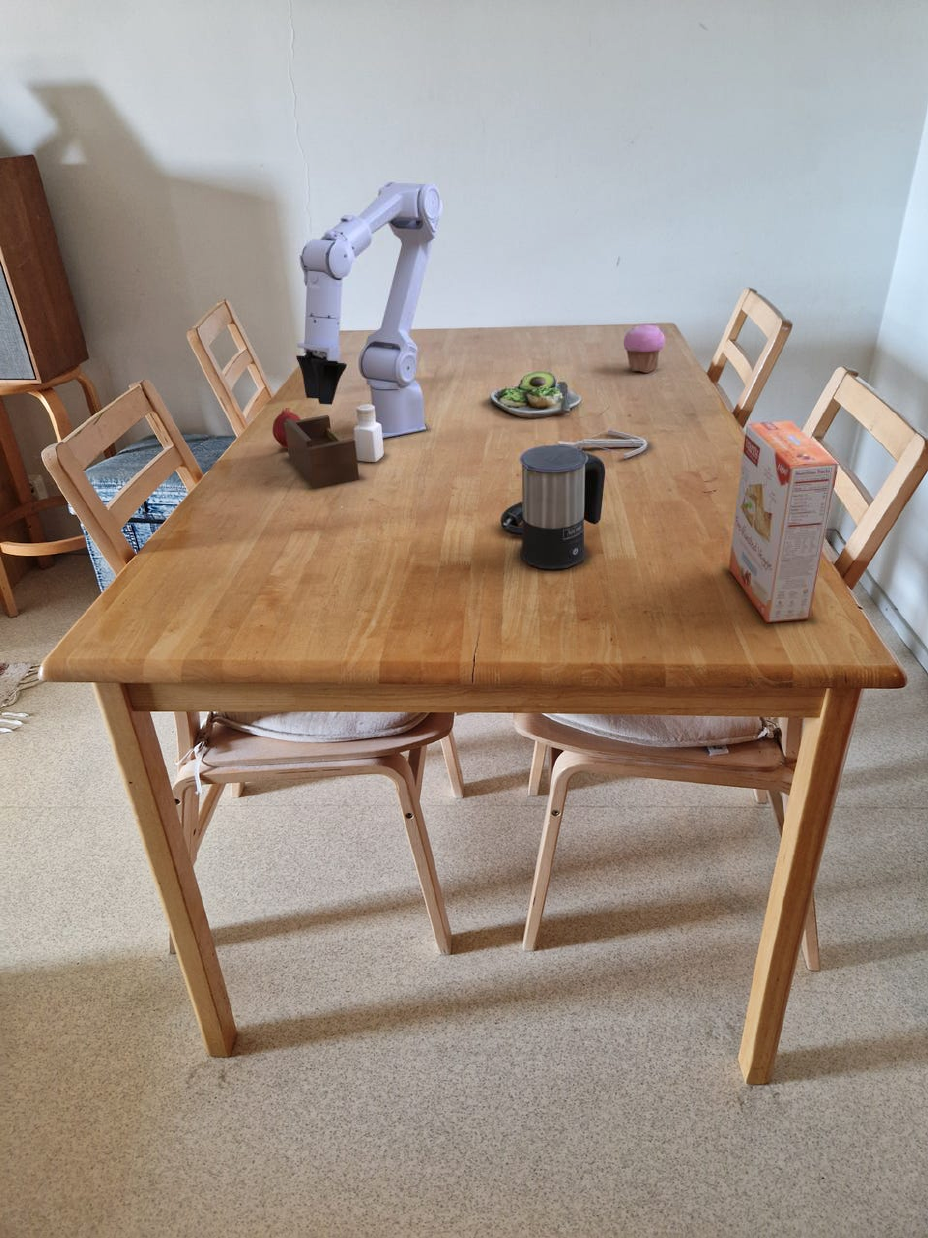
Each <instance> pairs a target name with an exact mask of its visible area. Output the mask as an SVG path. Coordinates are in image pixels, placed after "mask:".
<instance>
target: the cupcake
mask: <svg viewBox="0 0 928 1238" xmlns="http://www.w3.org/2000/svg"><path fill="white" fill-rule="evenodd" d="M664 334H665V333H664V332H663V331H662V330H660V328H659V326H657V325H652V324H643V325H636V326H634V327H633V328H631V329H629V330H628V331H627V332H626V334H625V336H624V338H623V347H624V348H623V349H624V350H625V351H626V354H627V359H628V365H629V367H630V369H631V370H632V371H633V372H640V373H643V374H646V373H647V374H648V373H650V372H652V371H654V370H656V368H657V367H658V363H659V355H660V351H661V350H662V349H663V348H664V347H665V346H666V336H665V335H664Z"/></svg>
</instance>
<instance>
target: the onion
mask: <svg viewBox="0 0 928 1238" xmlns="http://www.w3.org/2000/svg"><path fill="white" fill-rule="evenodd" d="M289 418H291V419H292V420H293V421H296V420H302V418H300V416H298V415H297V414H295V413H294V412H292V411H291V408H290V407H289V406H284V407H283V409H282V411H281V413H279V414H278V415H277V416H276V417H275V419H274V421H273V423H272V435H273V438H274V439H275V441H276V442H277V443H278V444H279V445H280V446H282V447H284V448H286V449H288V445H287V438H286V431H285V424H284V423H285V422H286V421H285V419H289Z"/></svg>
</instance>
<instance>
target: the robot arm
mask: <svg viewBox="0 0 928 1238" xmlns="http://www.w3.org/2000/svg"><path fill="white" fill-rule="evenodd" d="M443 207H444V206H443V202H442V199H441V194H440V191H439V189H438V187H437V185H435V184H434V183H433V182H426V183H411V182H409V183H408V182H407V183H406V182H395V181H388V182H386V183H385V184H384V185H383V186H382V187H380V188H379V189H378V193H377V197H376V198H375V199H374V200H373V201H372V202H371V203H370V204H369V205H368V206H367V207H366V208H365V209H364V210H363V211H362V212H361V213H360V214H359V215H354V214H351V215H350V214H344V215H342V216H340V222H338V224H337V225H335V226H334V227H332V228H331V229H330V230H329V229H328V230H326V231H325V232H324V235H323V236H322V237H320V239H316V238H315V239H314V238H313V239H310V240H309V241H308V242H307V243H306V244H305V245H304V246H303V249H302V251H301V254H300V255H299V264H300V267H301V269H302V272H303V283H304V286H305V287H306V295H305V296H306V297H305V318H304V319H305V320H304V341H303V342H297V344H296V347H297V348H299V349H303V354H304V355H296V356H295V358H296V360H297V363H298V365H299V368H300V372H301V375H302V380H303V385H304V392H305V397H306V398H307V399H317V401H318V404H319V405H333V403H334V399H335V397H336V392H337V388H338V385H339V382H340V380H341V377H342V375H343V374H344V372H345V370H346V369H347V366H348V364H347V363H345V362H340V361H341V346H340V333H341V331H340V329H341V311H342V293H343V279H344V278H345V277H348V275H349V274H350V273H351V269H352V265H353V263H354V262H355V259H356V258H358V256H360V254H362V253H363V252H364V251H365V250H367V248H369V247H370V245H371V244H372V241H373V236H372V235H373V234H375V233H376V232H377V231H379V230H380V229H382V228H383V227H384V226H385V225H387V224H388V226H389V227H390V229H391V231H392V233H393V235H394V236H395V237H396V238H398V239H399V240H400V242H401V247H400V250H399V254H398V258H397V262H396V266H395V269H394V270H395V271H394V274H393V278H392V282H391V287H390V290H389V294H388V298H387V302H386V306H385V311H384V314H383V318H382V322H381V326H380V327H379V328H378V329H377V330H375V331H374V332H372V333H371V334H369V335H368V336H367V338H366V343H365V345H364V347H363V348H362V349H361V352H360V353H359V357H358V370H359V374H360V375H361V377H362V378H363V379H364V380H365V381H366V385H368V386H369V389H370V399H371V400H370V401H371V405H373V406H375V414H376V417H375V420H376V422H377V423H379V424H381V428H382V439H387V438H391V437H396V436H401V435H407V434H411V433H417V432H421V431H425V430H427V427H426V426H425V410H424V409H425V408H424V395H423V392H422V387H421V385H420V383H419V382H418V381H417V380H416V379H415V377H416V374H417V370H418V368H417V367H418V365H417V363H418V362H417V359H418V353H419V348H418V347H417V344H416V343H415V342H414V341H413V339H412V338H411V336H410V333H411V329H412V325H413V320H414V317H415V313H416V309H417V305H418V301H419V297H420V293H421V289H422V285H423V283H424V276H425V273H426V271H427V270H426V269H427V266H428V261H429V258H430V253H431V250H432V246H433V242H434V241H433V240H434V239H435V238H436V235H437V232H438V228H439V224H440V220H441V217H442V212H443Z"/></svg>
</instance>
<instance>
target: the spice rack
mask: <svg viewBox="0 0 928 1238" xmlns="http://www.w3.org/2000/svg"><path fill="white" fill-rule="evenodd" d="M285 421H286V422H285V423H284V424H285V431H286V438H287V445H288V448H287V451H288V457H289V461H290V462H291V464H292V465H293V466H294V467H295V468H296V469H297V470H298V471H299V473H300V474H301V475H302V476H303V478H304V479H305V480H306V481H307V482H308V484H309V485H310V486H311V487H312V488H313V489H314V490H316V489H320V488H326V487H330V486H335V485H340V484H344V483H348V482H354V481H357V480H358V481H359V480H360V475H359V474H360V473H359V466H358V465H359V464H358V460H357V454H356V445H355V438H348V439H343V438H342V437H341V436H340V435H339V434H338V433H337V432H336V431H335V430H333V429H332V426H331V418H330V416H329V415H328V414H324V415H318V416H313V417H308V418H301V420H296V421H293V420H292V419H291V418H289V419H285Z"/></svg>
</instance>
